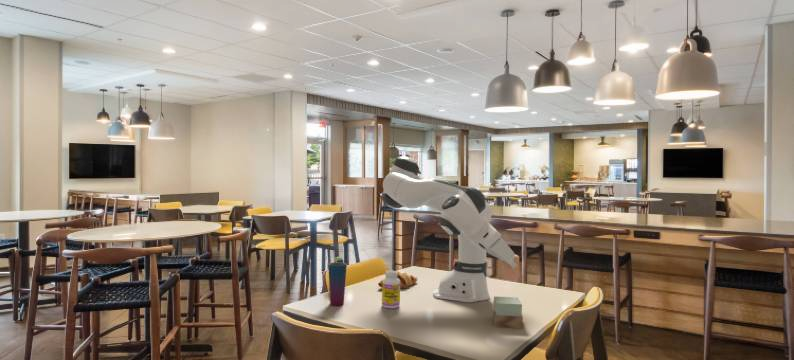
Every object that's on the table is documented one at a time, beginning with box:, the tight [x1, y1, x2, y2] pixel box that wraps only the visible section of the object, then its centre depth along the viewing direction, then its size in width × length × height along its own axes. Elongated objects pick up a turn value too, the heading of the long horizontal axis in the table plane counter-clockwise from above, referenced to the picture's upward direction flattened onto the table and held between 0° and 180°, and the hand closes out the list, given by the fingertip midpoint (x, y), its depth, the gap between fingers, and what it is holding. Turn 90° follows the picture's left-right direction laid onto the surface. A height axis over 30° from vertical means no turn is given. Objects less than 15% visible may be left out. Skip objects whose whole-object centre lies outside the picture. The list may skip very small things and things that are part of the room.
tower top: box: [493, 295, 523, 317], centre depth 149 cm, size 8×8×4 cm
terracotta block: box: [498, 254, 520, 280], centre depth 148 cm, size 5×5×8 cm
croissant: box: [377, 271, 418, 290], centre depth 194 cm, size 21×10×8 cm, turn 130°
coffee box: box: [334, 256, 344, 263], centre depth 188 cm, size 8×3×13 cm, turn 15°
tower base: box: [493, 309, 524, 330], centre depth 149 cm, size 9×9×4 cm
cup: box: [327, 261, 348, 307], centre depth 167 cm, size 7×7×15 cm
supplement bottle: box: [381, 269, 401, 309], centre depth 165 cm, size 7×7×13 cm
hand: (510, 264), depth 148 cm, fingers closed on terracotta block, 5 cm apart
